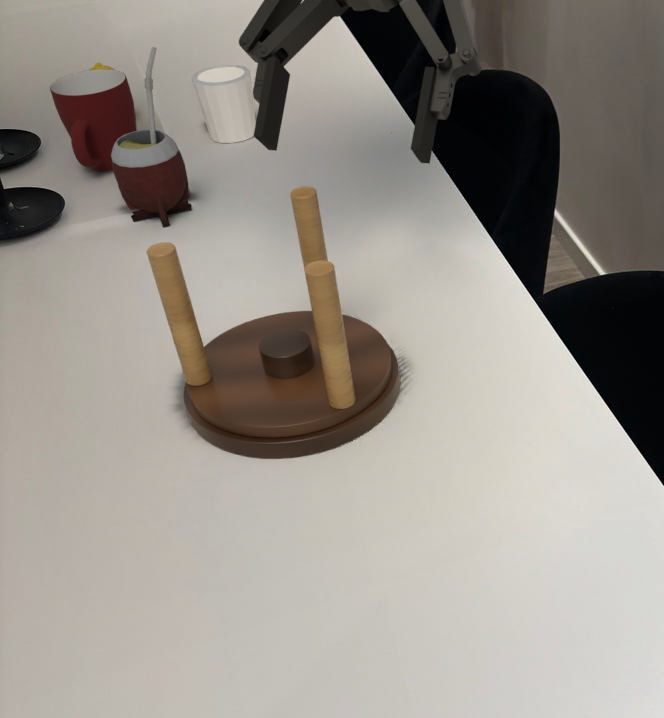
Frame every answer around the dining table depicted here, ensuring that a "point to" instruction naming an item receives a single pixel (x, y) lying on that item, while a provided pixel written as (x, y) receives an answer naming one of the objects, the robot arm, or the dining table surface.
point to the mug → (95, 113)
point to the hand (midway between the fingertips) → (341, 150)
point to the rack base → (305, 442)
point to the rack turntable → (278, 349)
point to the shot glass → (226, 102)
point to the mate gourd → (150, 168)
